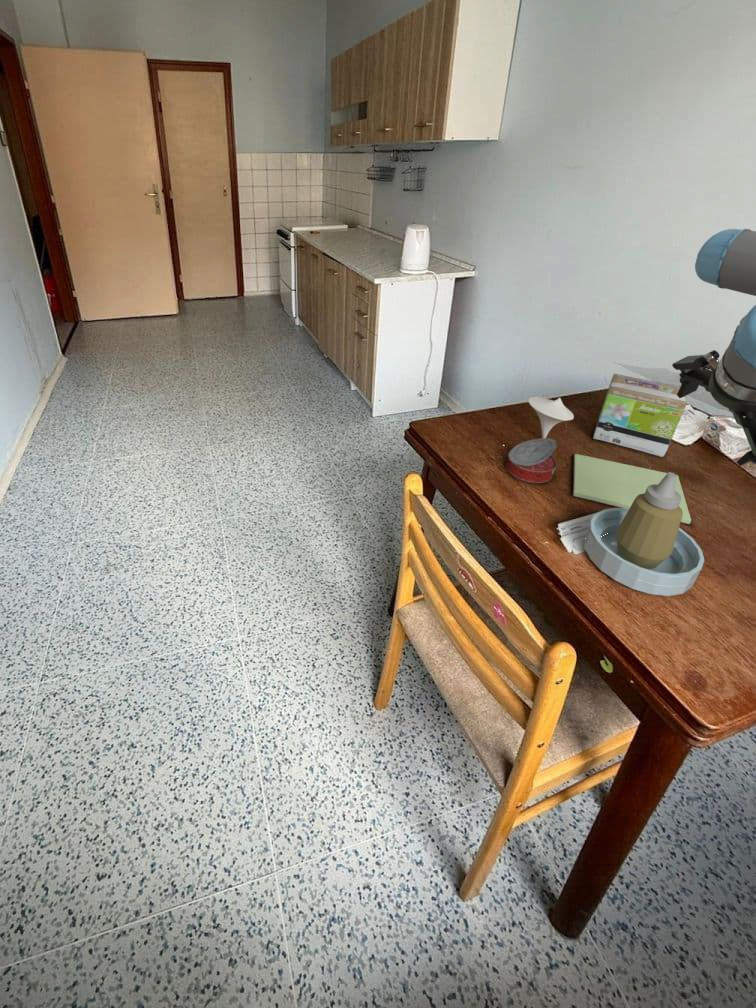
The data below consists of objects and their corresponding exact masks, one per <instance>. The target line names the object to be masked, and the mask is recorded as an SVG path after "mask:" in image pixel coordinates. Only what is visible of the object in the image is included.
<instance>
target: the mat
mask: <svg viewBox="0 0 756 1008" xmlns="http://www.w3.org/2000/svg"><path fill="white" fill-rule="evenodd" d="M573 455H574V456H573V483H572V485H573V487H572V496H573V497H577V498H581V499H585V500H589V501H592V502H593V501H594V502H596V503H602V504H605V505H610V506H613V507H616V508H626V509H630V507H631V505H632V503H633V501H634V500H635V498H636V497H637V496H638V495H639V494H644V493H645V491H646V489H647V487H648V486H649V485H654V484H657V485H658V484H659V483H660V482H661V480H662V479H663V478H664V477H665V475H666V474H667V473H668V472H663V471H659V470H655V469H650V468H645V467H640V466H635V465H630V464H626V463H622V462H616V461H612V460H607V459H603V458H597V457H593V456H587V455H582V454H579V453H574V454H573ZM675 491H677V492H678V493H679V494H680V495H681V502H680V504H679V507H680V508H681V509H682V512H683V516H682V519H681V523H683V524H687V525H691V522H692V518H691V514H690V511H689V508H688V504H687V501H686V498H685V497H686V496H685V493H684V491H683V488H682V484H681V481H680V477H679V475H678V474H676V485H675Z"/></svg>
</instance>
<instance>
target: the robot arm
mask: <svg viewBox="0 0 756 1008" xmlns="http://www.w3.org/2000/svg"><path fill="white" fill-rule="evenodd" d="M696 255H697V256H696V259H695V264H694V270H695V273H696V275H697V278H699V279H700V280H701V281H703V283H707V284H710V285H713V286H717V288H719V289H722V290H724V289H726V290H730V291H733V292H737V293H741V294H744V295H745V294H746V295H750V296H753V297H756V231H755V230H752V229H750V228H742V229H741V228H739V229H737V228H728V229H723V230H720V231H718V232H716V233H715V234H713V235H712V236H711V237H709V238H708V239H707V240H706V241H705V242H704V243H703V245H702V246H701V248H699V251H698V253H697V254H696ZM719 358H720V353H719V352H718V351H717V350H714V349H713V350H712V351H709V352H707V353H705V354H696V355H695V354H693V355H687V356H685V357H683V358H681V359H679V360H678V361H675V362H673V363H672V364H671V366H672V368H673V369H674V370H676V371H680V373H679V383H680V386H679V387H680V389H679V391H678V393H677V396H678V397H679V398H682V397H684V396H686V397H687V396H688V395H691V394H693V393H694V392H696V391H697V390H698V388H699V386H700V387H703V388H704V390H705V392H708V393H710V394H711V397H712V398H713V400H715V402H717V403H718V404H719V405H721V406H722V407H723V408H726V409H727V410H728V411H729V412H730V413H732V416H733V418H734V420H735V423H736V424H737V425H739V426H741V427H742V430H743V433H744V435H745V437H746V440H747V442H748V445H749V447H750V450H748V451H746V452H745V453H744V454H743V455H742V456H741V457H740V458H739V459H738V460H737V461H736V464H737V465H738V466H739V467H741V466H743V465H746V464H748V463H752V465H753V464H754V465H756V304H755V305H754V306H753V307H752V308H751V309H750V310H749V311H748V312H747V314H745V315H744V316H743V317H742V318H741V319H740V320H739V324H738V325H737V326H736V328H735V331H734V333H733V336H732V339H731V340H730V342H729V345H728V346H727V347H726V349H725V351H724V353H723V355H721V358H720V359H719Z"/></svg>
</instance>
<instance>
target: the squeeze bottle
mask: <svg viewBox="0 0 756 1008" xmlns="http://www.w3.org/2000/svg"><path fill="white" fill-rule="evenodd" d="M666 473H667V474H666V475H665V477H664V478H663V479H662V480H661V482H660V483H659V484H658V485H657V484H654V485H649V486H648V487H647V489H646V491H645V493H644V494H639V495H638V496H637V497H636V498H635V500H634V501H633V503H632V505H631V507H630V509H629V510H628V512H627V514H626V516H625V517H624V519H623V521H622V523H621V525H620V526H619V528H618V530H617V533H616V538H617V549H618V554H619V556H620V557H621V558H622V559H624V560H626V561H628V562H630V563H633V564H635V565H637V566H639V567H642V568H645V569H649V570H650V569H654V568H655V567H657V566H658V565H659V564H661V563H662V562H663V561H665V560H666V559H667V558H668V557H669V556H670V555H671V554H672V551H673V547H674V544H675V540H676V537H677V533H678V530H679V528H680V526H681V523H682V522H681V519H682V516H683V512H682V509H681V508H680V507H679V504H680V502H681V495H680V494H679V493H678V492H677V491H675V485H676V475H677V474H676V473H674V472H671V471H669V472H666Z"/></svg>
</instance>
